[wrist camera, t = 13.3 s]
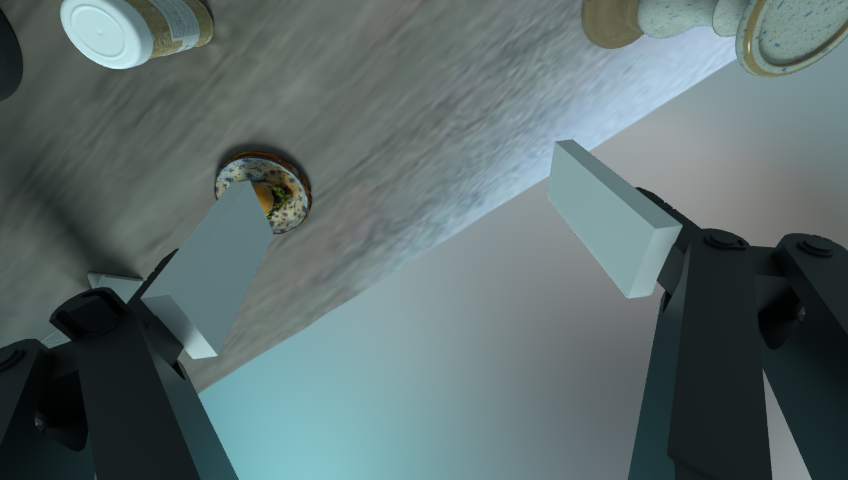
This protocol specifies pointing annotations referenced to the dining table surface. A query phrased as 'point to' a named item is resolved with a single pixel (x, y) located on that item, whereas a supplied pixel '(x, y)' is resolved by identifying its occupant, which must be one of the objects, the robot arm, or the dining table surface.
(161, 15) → the sprinkles bottle
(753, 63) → the candle holder
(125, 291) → the skyscraper
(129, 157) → the dining table surface
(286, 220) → the burger
